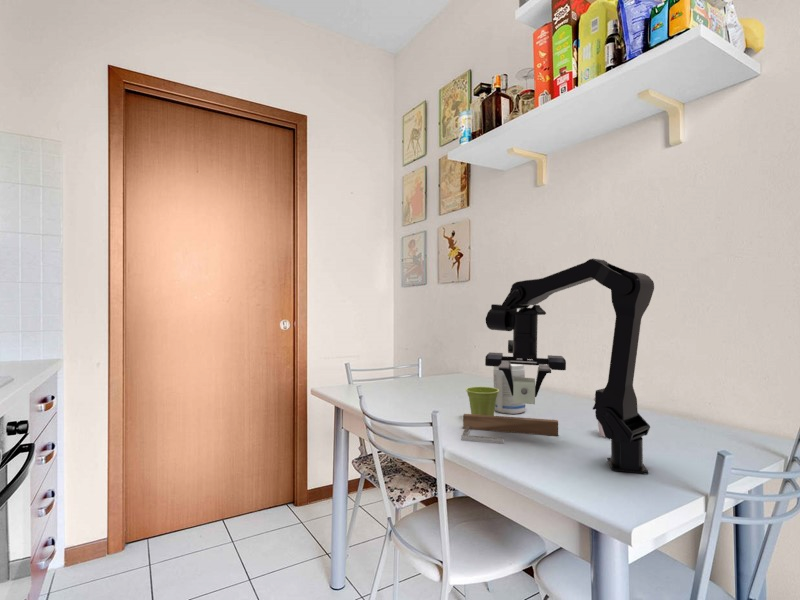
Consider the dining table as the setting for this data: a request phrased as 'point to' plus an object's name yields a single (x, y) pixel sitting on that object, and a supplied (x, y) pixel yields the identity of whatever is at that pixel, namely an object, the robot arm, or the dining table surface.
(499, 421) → the long brown board
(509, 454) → the dining table surface
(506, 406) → the supplement tub
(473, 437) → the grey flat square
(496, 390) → the plant pot
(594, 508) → the dining table surface
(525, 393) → the pale green block
